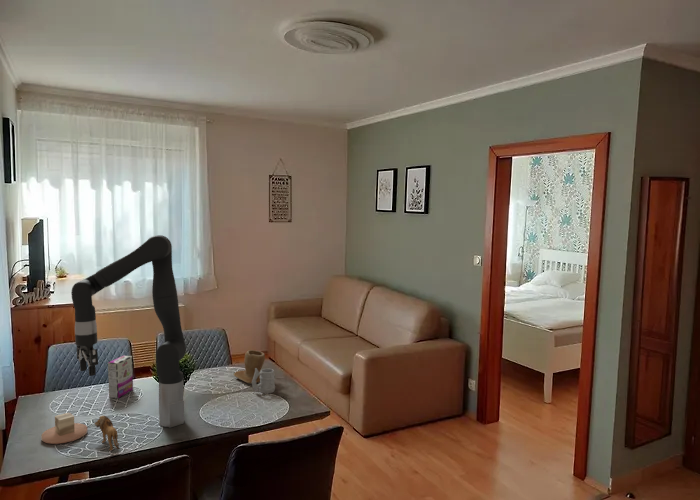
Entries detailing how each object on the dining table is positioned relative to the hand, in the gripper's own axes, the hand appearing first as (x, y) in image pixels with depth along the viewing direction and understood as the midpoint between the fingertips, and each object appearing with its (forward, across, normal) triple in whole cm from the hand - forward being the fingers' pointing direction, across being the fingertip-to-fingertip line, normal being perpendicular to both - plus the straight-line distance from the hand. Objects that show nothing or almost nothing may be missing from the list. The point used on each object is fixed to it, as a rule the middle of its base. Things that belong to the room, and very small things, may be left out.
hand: (87, 373), depth 194 cm
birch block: (+20, -2, +10) cm, 22 cm away
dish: (+21, -2, +10) cm, 23 cm away
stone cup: (+23, -1, -76) cm, 80 cm away
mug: (+23, -18, -71) cm, 77 cm away
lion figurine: (+22, -19, +1) cm, 29 cm away
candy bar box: (+22, +25, -23) cm, 41 cm away
